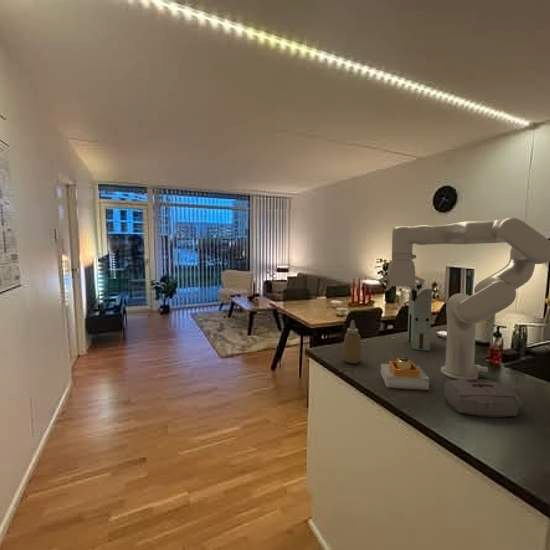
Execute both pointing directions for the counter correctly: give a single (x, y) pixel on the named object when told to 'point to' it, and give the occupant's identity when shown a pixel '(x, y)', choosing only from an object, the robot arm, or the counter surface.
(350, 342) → the squeeze bottle
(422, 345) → the device
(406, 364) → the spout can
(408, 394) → the counter surface
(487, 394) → the grey rounded bag
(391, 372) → the orange white open box
